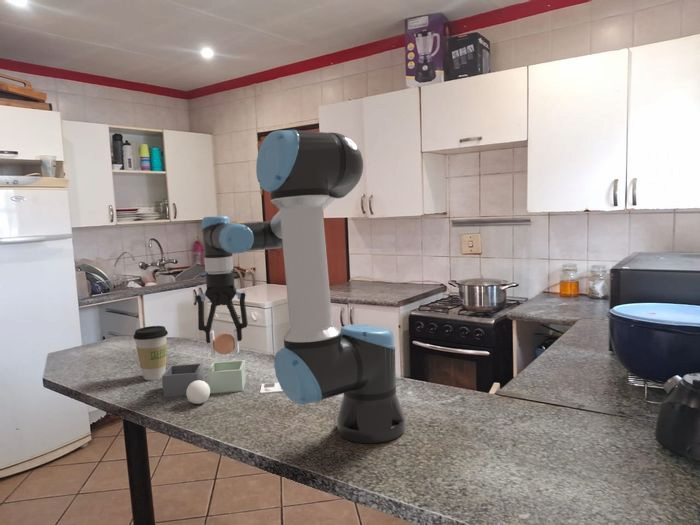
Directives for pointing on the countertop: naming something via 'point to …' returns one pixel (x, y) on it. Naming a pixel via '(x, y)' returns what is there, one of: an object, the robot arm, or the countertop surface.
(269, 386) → the card
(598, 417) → the countertop surface
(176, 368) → the grey open cubby box
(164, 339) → the coffee cup
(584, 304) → the countertop surface
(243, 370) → the sage open box
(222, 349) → the ball terracotta
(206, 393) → the ball white
